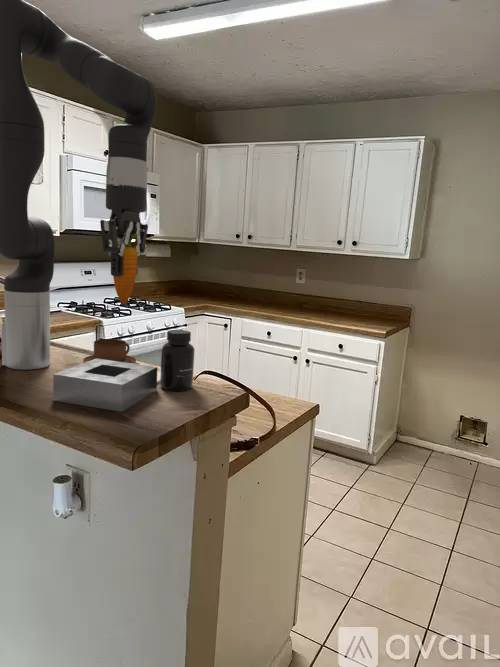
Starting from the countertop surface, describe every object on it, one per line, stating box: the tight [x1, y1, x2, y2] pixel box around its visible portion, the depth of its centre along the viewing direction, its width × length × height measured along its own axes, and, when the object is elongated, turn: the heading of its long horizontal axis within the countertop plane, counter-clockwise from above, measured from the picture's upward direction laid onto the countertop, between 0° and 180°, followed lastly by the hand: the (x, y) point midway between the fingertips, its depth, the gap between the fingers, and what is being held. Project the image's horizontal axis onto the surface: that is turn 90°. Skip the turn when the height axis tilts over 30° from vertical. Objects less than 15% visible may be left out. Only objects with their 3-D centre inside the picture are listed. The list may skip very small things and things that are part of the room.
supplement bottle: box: [159, 329, 195, 392], centre depth 102 cm, size 7×7×12 cm
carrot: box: [113, 234, 138, 306], centre depth 95 cm, size 5×5×15 cm
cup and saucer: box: [82, 338, 137, 364], centre depth 115 cm, size 12×12×6 cm
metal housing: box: [52, 358, 158, 413], centre depth 94 cm, size 14×14×5 cm
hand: (124, 274), depth 95 cm, fingers closed on carrot, 5 cm apart
